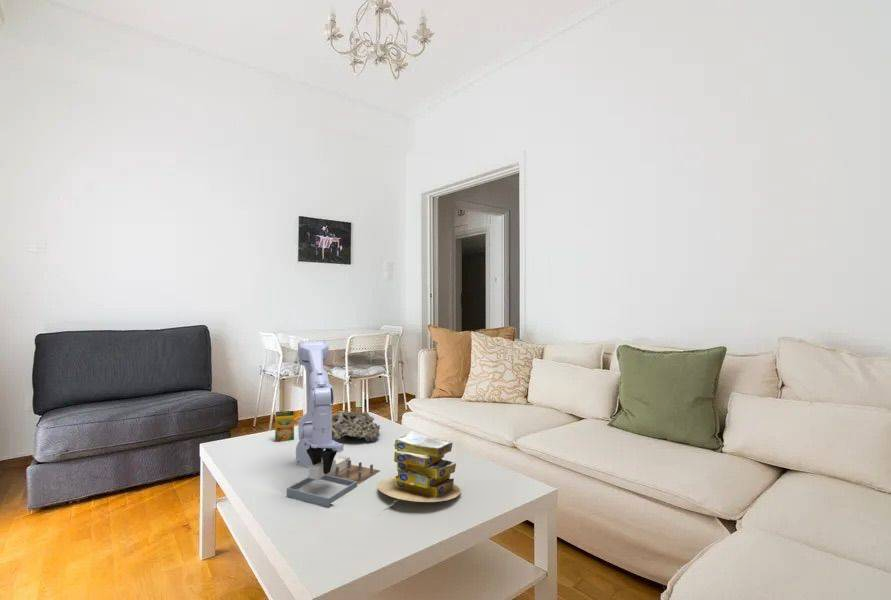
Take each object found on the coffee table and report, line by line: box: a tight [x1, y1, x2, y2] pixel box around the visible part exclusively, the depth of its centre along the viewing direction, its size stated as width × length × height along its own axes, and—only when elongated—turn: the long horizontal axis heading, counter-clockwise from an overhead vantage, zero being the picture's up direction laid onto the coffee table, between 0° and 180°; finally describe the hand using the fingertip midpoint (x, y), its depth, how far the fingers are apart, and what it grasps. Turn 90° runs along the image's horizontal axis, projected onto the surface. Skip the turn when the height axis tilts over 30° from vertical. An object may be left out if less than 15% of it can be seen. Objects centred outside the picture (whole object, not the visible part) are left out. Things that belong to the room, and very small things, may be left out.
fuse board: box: [327, 459, 381, 485], centre depth 149 cm, size 17×12×4 cm
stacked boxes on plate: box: [376, 430, 461, 503], centre depth 136 cm, size 25×25×17 cm
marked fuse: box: [308, 458, 336, 481], centre depth 136 cm, size 3×8×3 cm, turn 154°
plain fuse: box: [328, 455, 351, 475], centre depth 151 cm, size 3×8×3 cm, turn 154°
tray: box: [286, 475, 358, 509], centre depth 136 cm, size 16×13×2 cm
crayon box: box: [274, 410, 295, 442], centre depth 186 cm, size 7×3×12 cm, turn 111°
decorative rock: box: [332, 409, 381, 443], centre depth 192 cm, size 22×26×10 cm
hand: (322, 471), depth 136 cm, fingers closed on marked fuse, 3 cm apart
